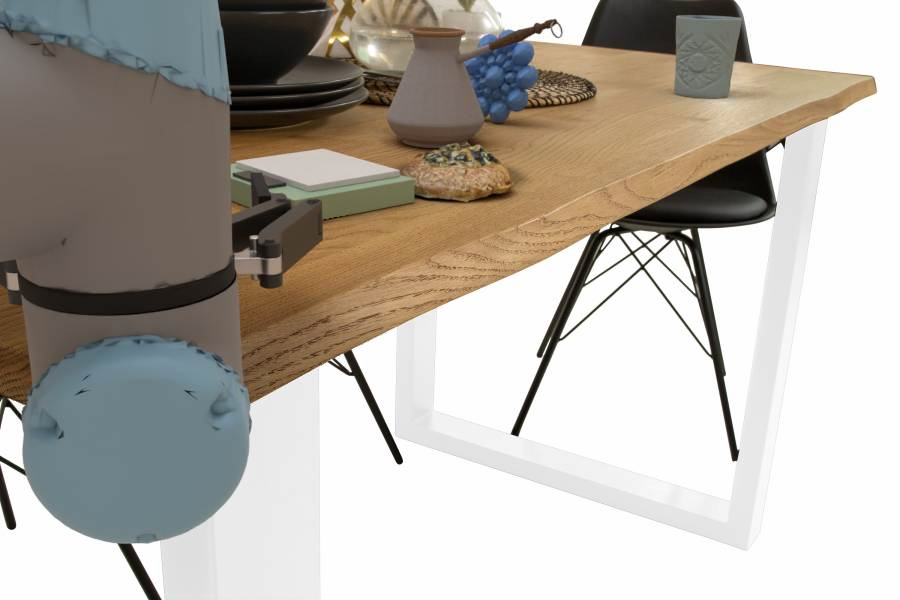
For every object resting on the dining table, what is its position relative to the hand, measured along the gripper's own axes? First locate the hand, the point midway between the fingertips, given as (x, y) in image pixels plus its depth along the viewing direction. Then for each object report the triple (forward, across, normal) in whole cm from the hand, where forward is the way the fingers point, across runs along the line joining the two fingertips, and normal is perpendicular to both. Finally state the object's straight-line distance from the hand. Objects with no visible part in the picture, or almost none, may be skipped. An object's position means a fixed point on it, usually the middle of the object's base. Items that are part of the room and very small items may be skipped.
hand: (152, 196), depth 66 cm
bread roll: (+24, +28, -7) cm, 37 cm away
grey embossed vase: (+80, +83, -7) cm, 115 cm away
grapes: (+59, +43, -7) cm, 74 cm away
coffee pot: (+43, +34, -7) cm, 56 cm away
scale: (+23, +13, -6) cm, 28 cm away
